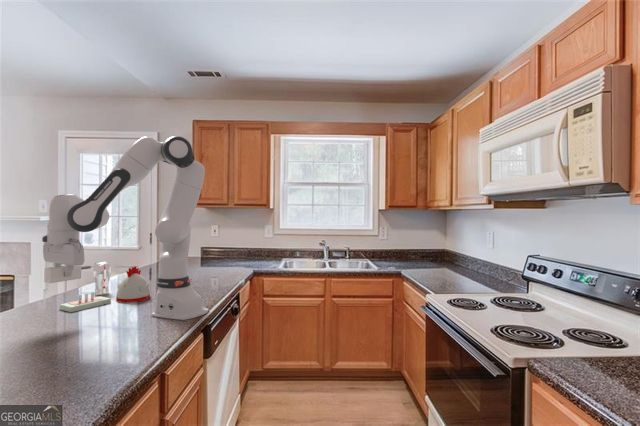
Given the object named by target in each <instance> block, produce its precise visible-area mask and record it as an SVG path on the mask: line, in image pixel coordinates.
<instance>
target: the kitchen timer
mask: <svg viewBox="0 0 640 426" xmlns="http://www.w3.org/2000/svg"><path fill="white" fill-rule="evenodd" d="M141 271H142V270H141V269H139V267H137V266H132V267H128V270H125V272H126V276H125V277H124V278H123V279H122V280H121V283H119V284H118V286H117V292H116V296H115V300H116V301H115V302H118V303H137V302H142V301H147V300H148V299H150V298H151V296H150V295H151V291H150V287H149V283H147V280H146V279H145V277H144V276H142V275H141V273H142V272H141Z"/></svg>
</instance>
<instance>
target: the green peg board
mask: <svg viewBox="0 0 640 426" xmlns="http://www.w3.org/2000/svg"><path fill="white" fill-rule="evenodd" d="M94 293H95V291H92V292H90V297H89V293H88V292H86V293H84V299H82V293H81V294H78V300H76V301H69V302H66V303H60V304H59V310H61V311H64V312H68V313H73V312H74V313H75V312H77V311H78V312H79V311H83V310H86V309H90V308H91V307H92V308H95V307H99V306H100V307H101V306H103V305H104V304H105V305H107V304H108V305H109V304H111V302H112V298H110V297H105V296H102V295H97V296H95V294H94Z"/></svg>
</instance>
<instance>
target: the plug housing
mask: <svg viewBox="0 0 640 426" xmlns="http://www.w3.org/2000/svg"><path fill="white" fill-rule="evenodd" d="M91 268H92V266H91V265H87V266H82V265H78V266H74V268H73V270H72V275H71V276H70V277H65V276H64V272H65V271H66V267H65V265H61V266H57V267H54V266H50V267H45V268H44V279H43V282H44V283H46V284H55V283H61V282H68V281H75V280H79V279H80V280H81V279H82V270H88V269H89V270H90V269H91Z"/></svg>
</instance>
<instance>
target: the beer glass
mask: <svg viewBox="0 0 640 426" xmlns="http://www.w3.org/2000/svg"><path fill="white" fill-rule="evenodd" d="M111 270H112V269H111V262H109V261H101V262H94V265H93V279H94V284H95V288H94V296H102V295H104V296H105V295H108V294H109V293H110V290H109V282H110V278H111V273H112V272H111Z"/></svg>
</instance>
